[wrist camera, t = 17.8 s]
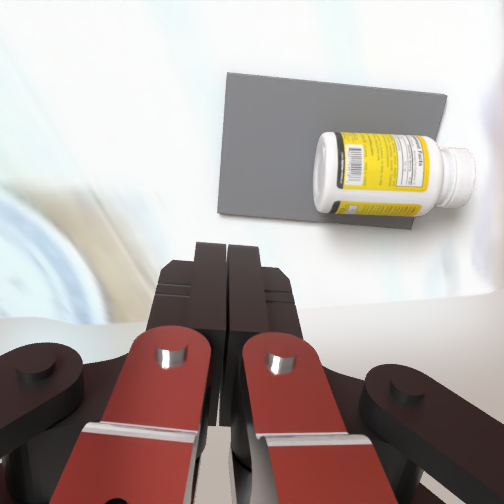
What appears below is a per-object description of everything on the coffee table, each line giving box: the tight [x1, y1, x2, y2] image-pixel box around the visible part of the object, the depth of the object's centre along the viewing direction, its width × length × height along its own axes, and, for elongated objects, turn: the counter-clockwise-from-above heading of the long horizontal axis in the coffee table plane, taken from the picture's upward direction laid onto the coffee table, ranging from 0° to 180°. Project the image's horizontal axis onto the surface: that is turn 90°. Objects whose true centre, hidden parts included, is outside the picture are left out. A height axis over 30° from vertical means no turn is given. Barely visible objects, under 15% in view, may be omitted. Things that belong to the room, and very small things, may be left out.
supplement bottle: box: [313, 132, 476, 217], centre depth 32 cm, size 5×5×10 cm
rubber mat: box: [217, 72, 447, 229], centre depth 35 cm, size 15×10×1 cm, turn 84°
